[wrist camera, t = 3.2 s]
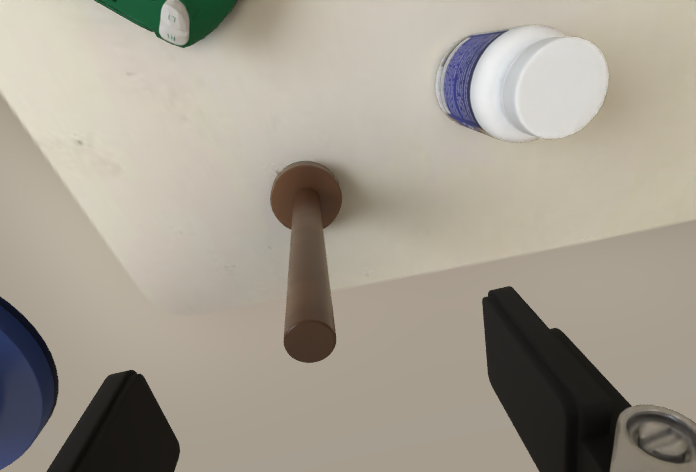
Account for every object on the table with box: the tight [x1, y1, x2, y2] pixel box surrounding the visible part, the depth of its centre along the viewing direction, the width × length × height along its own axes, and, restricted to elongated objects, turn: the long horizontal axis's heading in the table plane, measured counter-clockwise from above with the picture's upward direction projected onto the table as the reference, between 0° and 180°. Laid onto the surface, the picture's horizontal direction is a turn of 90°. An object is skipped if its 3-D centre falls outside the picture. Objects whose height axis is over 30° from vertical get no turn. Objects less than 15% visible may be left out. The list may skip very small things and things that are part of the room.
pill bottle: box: [435, 25, 609, 143], centre depth 21 cm, size 5×5×9 cm
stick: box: [270, 161, 342, 363], centre depth 19 cm, size 4×4×15 cm
